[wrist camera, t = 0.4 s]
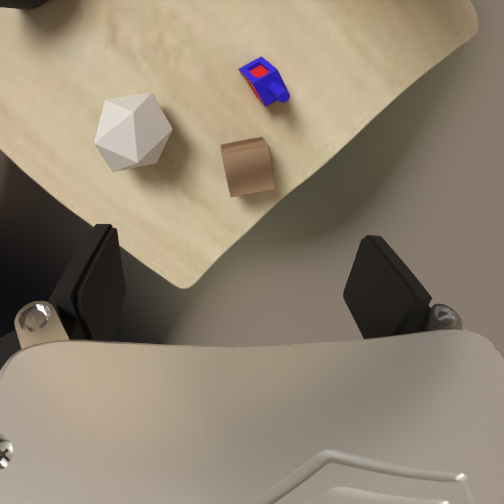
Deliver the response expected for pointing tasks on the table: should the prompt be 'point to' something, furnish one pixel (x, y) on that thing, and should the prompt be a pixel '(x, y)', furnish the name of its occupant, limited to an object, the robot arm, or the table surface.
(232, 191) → the walnut cube
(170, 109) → the table surface
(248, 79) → the toy building block
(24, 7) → the pen holder
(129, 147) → the die
